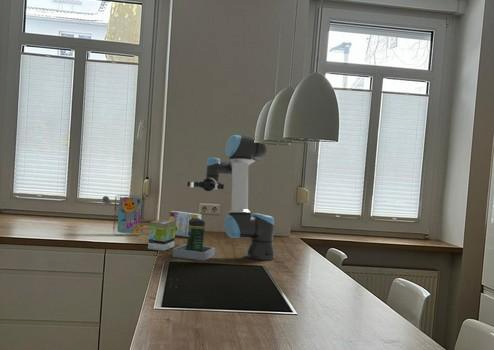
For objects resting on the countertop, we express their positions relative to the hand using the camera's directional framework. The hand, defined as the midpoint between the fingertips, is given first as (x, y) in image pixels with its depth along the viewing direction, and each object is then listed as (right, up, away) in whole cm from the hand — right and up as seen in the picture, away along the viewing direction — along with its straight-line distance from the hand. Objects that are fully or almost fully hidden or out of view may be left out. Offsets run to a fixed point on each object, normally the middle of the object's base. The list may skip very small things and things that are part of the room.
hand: (203, 185), depth 276 cm
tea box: (-23, -34, +5) cm, 42 cm away
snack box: (-17, -33, +53) cm, 65 cm away
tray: (-4, -36, -11) cm, 38 cm away
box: (-53, -31, +36) cm, 71 cm away
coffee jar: (-4, -35, -11) cm, 37 cm away
